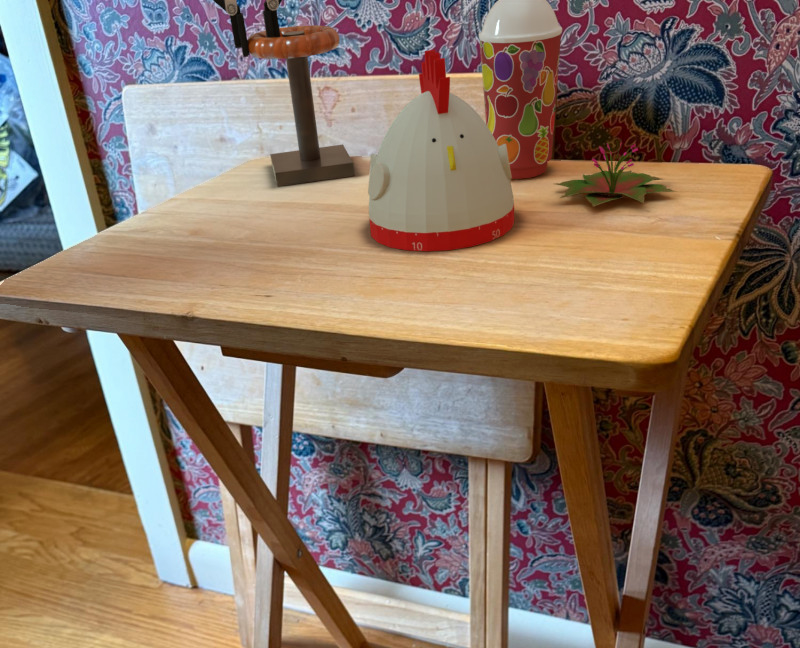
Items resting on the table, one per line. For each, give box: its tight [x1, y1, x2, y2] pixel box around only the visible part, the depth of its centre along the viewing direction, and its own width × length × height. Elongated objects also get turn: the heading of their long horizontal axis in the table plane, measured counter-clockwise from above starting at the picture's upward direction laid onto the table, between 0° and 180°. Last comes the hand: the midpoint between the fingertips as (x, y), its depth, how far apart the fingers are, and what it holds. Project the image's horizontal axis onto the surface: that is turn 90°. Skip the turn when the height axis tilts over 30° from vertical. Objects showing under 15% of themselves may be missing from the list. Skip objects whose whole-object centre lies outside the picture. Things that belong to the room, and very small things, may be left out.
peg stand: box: [269, 31, 356, 187], centre depth 101 cm, size 9×9×14 cm
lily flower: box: [554, 141, 678, 207], centre depth 88 cm, size 12×12×5 cm
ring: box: [247, 24, 340, 60], centre depth 97 cm, size 10×10×2 cm
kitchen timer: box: [367, 49, 515, 252], centre depth 81 cm, size 14×14×15 cm
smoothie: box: [477, 0, 563, 180], centre depth 92 cm, size 8×8×20 cm
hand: (259, 51), depth 97 cm, fingers closed on ring, 2 cm apart
